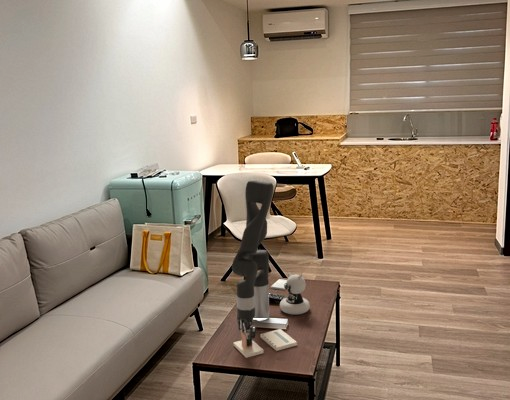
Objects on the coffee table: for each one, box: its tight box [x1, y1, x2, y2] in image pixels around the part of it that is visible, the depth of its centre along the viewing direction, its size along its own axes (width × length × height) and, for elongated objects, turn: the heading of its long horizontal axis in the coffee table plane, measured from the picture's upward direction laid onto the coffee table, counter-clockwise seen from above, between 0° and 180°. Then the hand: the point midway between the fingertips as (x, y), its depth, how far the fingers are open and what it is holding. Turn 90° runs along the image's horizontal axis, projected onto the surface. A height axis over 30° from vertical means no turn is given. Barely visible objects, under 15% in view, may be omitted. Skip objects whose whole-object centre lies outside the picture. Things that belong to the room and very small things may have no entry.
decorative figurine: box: [279, 271, 311, 316], centre depth 258 cm, size 15×15×20 cm
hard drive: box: [270, 278, 287, 291], centre depth 292 cm, size 2×8×12 cm
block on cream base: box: [233, 331, 264, 359], centre depth 222 cm, size 12×8×7 cm, turn 27°
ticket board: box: [259, 328, 298, 352], centre depth 229 cm, size 14×10×2 cm
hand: (247, 343), depth 222 cm, fingers closed on block on cream base, 4 cm apart
